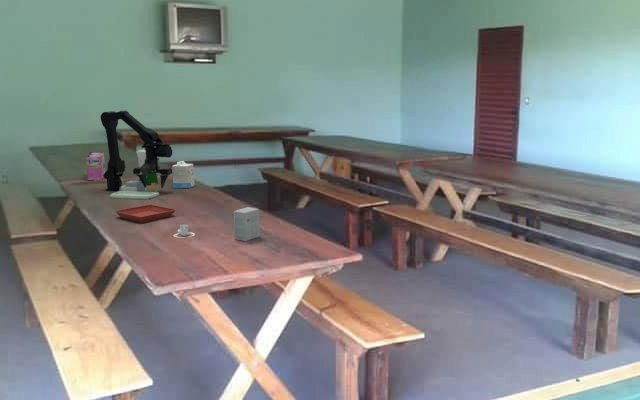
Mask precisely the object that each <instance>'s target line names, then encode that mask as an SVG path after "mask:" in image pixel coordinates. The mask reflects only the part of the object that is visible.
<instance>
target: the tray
mask: <svg viewBox="0 0 640 400" xmlns="http://www.w3.org/2000/svg"><path fill="white" fill-rule="evenodd" d="M159 196H160V192H158V191H157V192H133V191H120V190H117V191H116V192H113V193H110V194H108V199H126V200H128V199H129V200H130V199H131V200H147V201H149V200H151V199H155V198H157V197H159Z"/></svg>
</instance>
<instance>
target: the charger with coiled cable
mask: <svg viewBox="0 0 640 400" xmlns="http://www.w3.org/2000/svg"><path fill="white" fill-rule="evenodd" d="M189 234H190V236H188V235H189ZM178 235H181V236H178ZM172 236H173V237H174V238H177V239H184V238H185V239H187V238H193V237H195V236H196V233H195V232H192V231H190V232H189V224H180V225H179V228H178V229H177V233H174V234H173V235H172Z"/></svg>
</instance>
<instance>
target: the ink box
mask: <svg viewBox="0 0 640 400" xmlns="http://www.w3.org/2000/svg"><path fill="white" fill-rule="evenodd" d="M171 169H172V187H173V188H174V189H190V188H192V187H194V186H195V173H194V171H195V170H194V163H186V162H185V161H184V160H180V161H177V162H176V164H173V165H172V166H171Z"/></svg>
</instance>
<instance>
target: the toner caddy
mask: <svg viewBox="0 0 640 400" xmlns="http://www.w3.org/2000/svg"><path fill="white" fill-rule="evenodd" d="M125 185H126V187H137V192H158V189H157V183H151V185H150V186H151V187H150V188H151V189H147V188H146V189H142V183H141V181H139V180H128V181H125Z"/></svg>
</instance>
